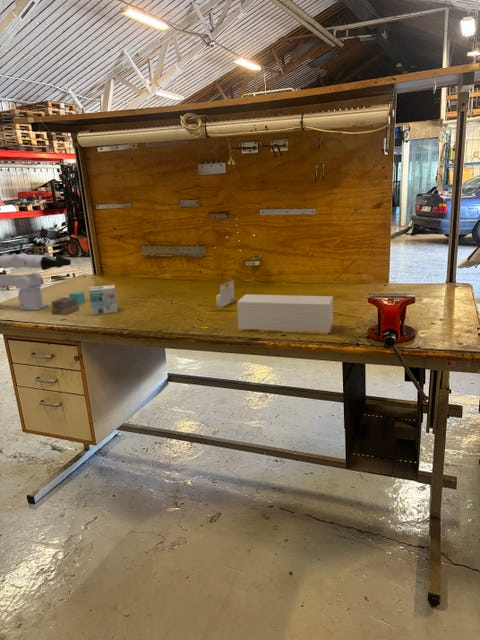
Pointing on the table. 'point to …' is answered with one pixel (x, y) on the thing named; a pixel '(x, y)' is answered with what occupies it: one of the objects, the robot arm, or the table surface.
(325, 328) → the stack of papers
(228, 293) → the ink cartridge box
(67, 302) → the top slab
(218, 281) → the table surface
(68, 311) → the bottom slab
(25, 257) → the robot arm
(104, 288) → the light bulb box
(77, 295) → the teal block
